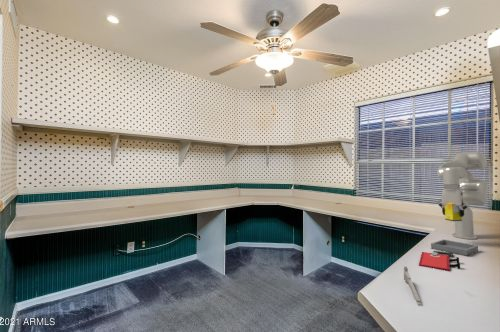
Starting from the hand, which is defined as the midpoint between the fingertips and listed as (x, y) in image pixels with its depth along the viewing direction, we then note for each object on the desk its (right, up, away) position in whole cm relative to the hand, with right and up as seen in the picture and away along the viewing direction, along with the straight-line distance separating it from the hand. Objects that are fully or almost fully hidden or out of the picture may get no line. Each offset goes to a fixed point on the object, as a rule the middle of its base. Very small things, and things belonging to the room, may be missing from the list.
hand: (453, 215), depth 149 cm
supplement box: (0, -3, 0) cm, 3 cm away
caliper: (-67, -16, -61) cm, 92 cm away
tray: (-10, -17, -13) cm, 24 cm away
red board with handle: (-31, -17, -29) cm, 46 cm away
